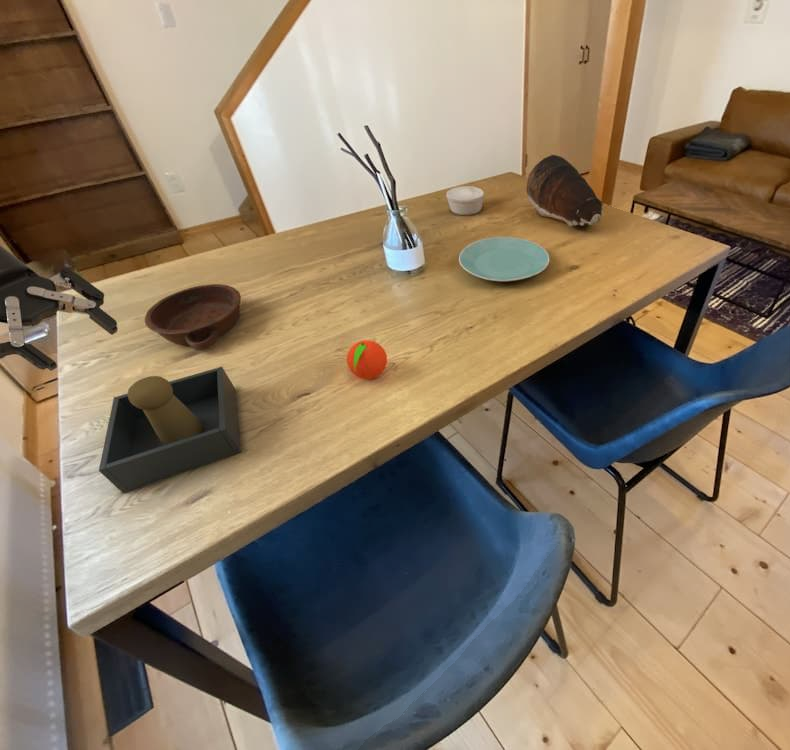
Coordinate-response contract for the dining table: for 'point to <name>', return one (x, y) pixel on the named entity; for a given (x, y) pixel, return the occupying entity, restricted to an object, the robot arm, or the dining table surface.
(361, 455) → the dining table surface
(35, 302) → the robot arm
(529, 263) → the plate
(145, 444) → the bin
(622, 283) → the dining table surface
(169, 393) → the cork
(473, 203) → the ramekin
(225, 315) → the dish
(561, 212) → the taro root
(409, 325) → the dining table surface
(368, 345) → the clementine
